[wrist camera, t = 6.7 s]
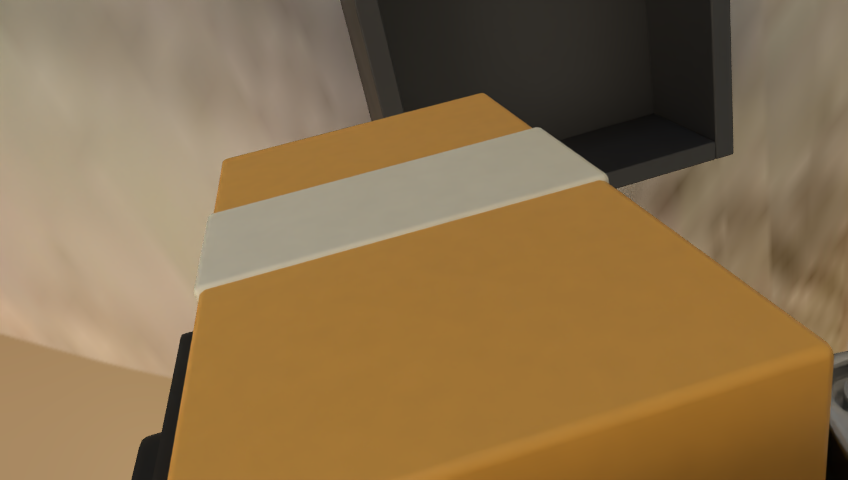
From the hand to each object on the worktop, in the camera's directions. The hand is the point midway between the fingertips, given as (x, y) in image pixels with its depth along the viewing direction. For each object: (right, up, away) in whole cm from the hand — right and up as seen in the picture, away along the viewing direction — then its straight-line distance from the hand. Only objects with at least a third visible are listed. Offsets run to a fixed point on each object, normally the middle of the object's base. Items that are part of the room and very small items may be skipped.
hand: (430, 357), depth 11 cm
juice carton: (-1, +1, +3) cm, 4 cm away
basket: (+4, +11, +20) cm, 23 cm away
